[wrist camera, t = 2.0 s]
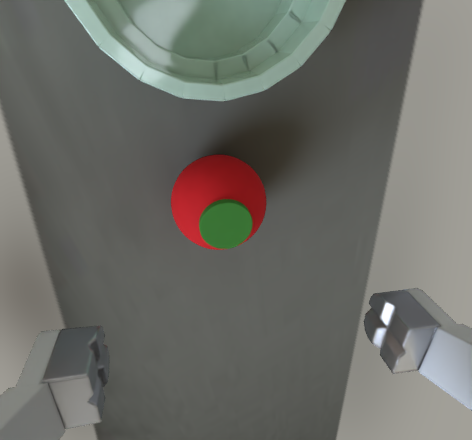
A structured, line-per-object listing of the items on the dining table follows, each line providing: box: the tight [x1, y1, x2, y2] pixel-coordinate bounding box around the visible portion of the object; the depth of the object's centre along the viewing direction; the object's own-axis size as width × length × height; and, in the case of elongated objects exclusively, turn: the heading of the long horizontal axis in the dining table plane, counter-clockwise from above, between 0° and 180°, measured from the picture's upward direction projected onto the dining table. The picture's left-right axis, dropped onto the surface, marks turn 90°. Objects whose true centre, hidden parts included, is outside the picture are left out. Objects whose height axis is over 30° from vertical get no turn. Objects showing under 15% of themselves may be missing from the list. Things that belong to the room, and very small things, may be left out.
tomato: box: [171, 155, 266, 250], centre depth 17 cm, size 5×5×5 cm
